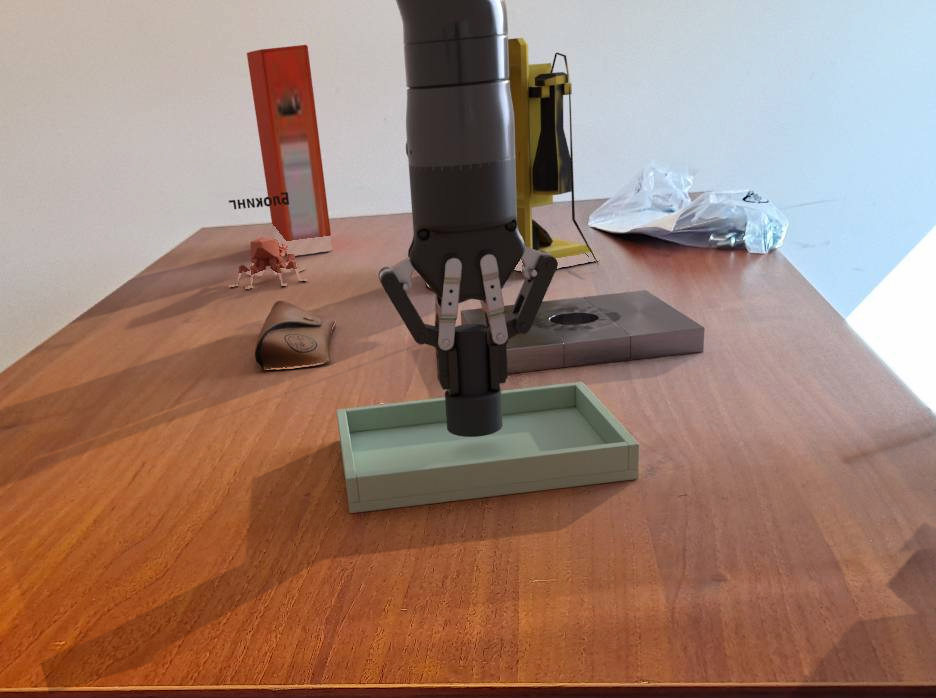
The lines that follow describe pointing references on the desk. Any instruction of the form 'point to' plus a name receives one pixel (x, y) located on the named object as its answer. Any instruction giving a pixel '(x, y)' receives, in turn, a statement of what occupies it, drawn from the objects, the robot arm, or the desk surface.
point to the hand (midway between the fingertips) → (473, 389)
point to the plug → (473, 387)
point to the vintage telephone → (541, 146)
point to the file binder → (289, 140)
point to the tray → (482, 449)
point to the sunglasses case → (293, 338)
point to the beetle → (267, 244)
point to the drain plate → (598, 332)
